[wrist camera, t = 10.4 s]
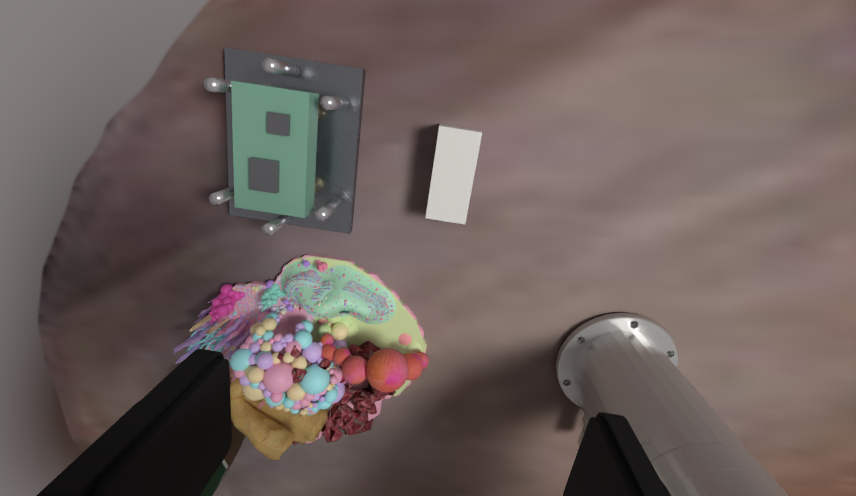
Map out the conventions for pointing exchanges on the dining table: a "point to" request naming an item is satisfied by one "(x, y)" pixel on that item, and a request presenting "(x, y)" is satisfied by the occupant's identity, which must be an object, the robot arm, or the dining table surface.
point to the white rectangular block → (453, 173)
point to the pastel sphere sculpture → (311, 351)
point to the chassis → (334, 132)
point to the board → (274, 148)
